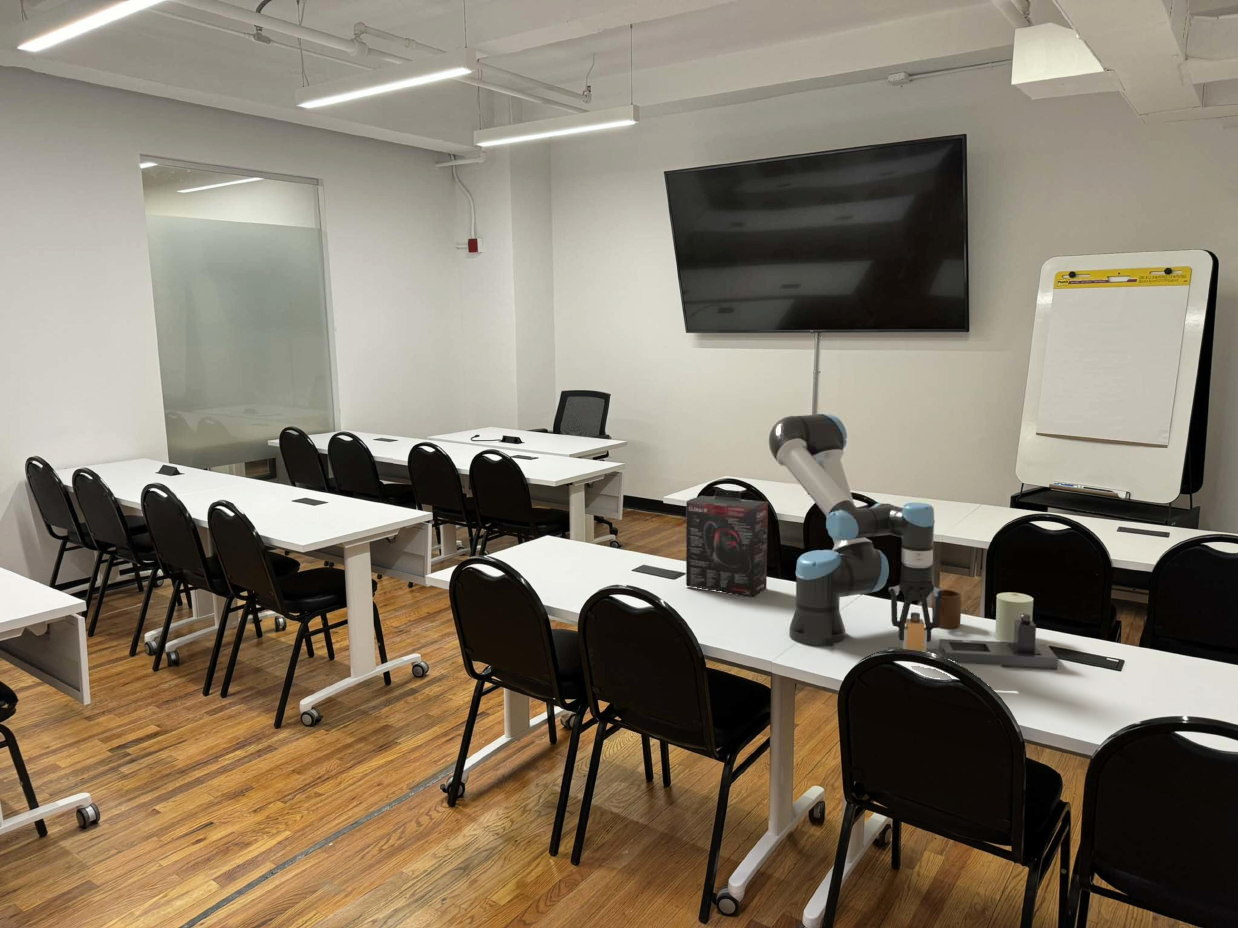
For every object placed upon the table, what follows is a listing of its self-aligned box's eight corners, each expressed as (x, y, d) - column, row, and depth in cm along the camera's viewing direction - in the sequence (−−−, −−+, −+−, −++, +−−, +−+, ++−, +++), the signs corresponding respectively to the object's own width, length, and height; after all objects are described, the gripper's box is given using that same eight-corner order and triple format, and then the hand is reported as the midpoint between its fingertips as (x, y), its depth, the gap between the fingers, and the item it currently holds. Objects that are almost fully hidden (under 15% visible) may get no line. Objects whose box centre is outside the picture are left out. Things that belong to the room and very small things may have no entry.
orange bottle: (907, 657, 220) (908, 615, 218) (905, 651, 224) (906, 610, 222) (923, 658, 219) (924, 616, 217) (921, 652, 223) (922, 611, 221)
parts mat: (891, 662, 218) (892, 660, 218) (887, 648, 227) (887, 646, 227) (941, 665, 215) (942, 663, 215) (935, 650, 225) (935, 649, 225)
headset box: (768, 588, 284) (769, 489, 279) (754, 598, 273) (755, 496, 269) (701, 579, 296) (700, 484, 292) (685, 588, 286) (684, 490, 281)
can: (1029, 634, 236) (1031, 591, 234) (1033, 645, 227) (1036, 601, 226) (993, 631, 239) (995, 589, 237) (995, 642, 230) (997, 599, 229)
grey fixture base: (945, 663, 216) (947, 617, 214) (938, 649, 226) (940, 605, 224) (1057, 669, 211) (1059, 622, 209) (1045, 654, 221) (1047, 609, 219)
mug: (946, 635, 237) (947, 602, 235) (919, 629, 242) (920, 596, 241) (965, 624, 245) (966, 592, 244) (939, 618, 250) (940, 587, 249)
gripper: (883, 567, 216) (881, 656, 219) (955, 569, 212) (951, 659, 216) (880, 559, 223) (878, 645, 226) (949, 561, 220) (946, 649, 223)
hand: (914, 652), depth 221 cm, fingers closed on orange bottle, 4 cm apart
